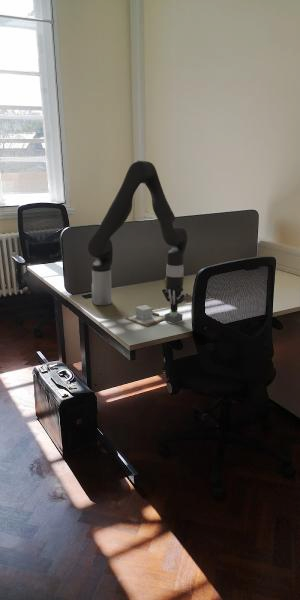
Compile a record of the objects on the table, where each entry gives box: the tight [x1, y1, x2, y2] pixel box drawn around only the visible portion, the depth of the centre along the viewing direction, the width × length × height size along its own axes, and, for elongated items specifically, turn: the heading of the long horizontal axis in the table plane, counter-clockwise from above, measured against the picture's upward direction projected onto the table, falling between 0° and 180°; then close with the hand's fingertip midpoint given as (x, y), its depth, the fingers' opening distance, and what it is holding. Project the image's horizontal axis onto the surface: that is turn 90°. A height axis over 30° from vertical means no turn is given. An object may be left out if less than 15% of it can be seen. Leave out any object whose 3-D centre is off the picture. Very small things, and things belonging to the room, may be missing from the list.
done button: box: [169, 310, 179, 317], centre depth 193 cm, size 4×4×4 cm
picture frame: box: [124, 311, 165, 328], centre depth 196 cm, size 14×13×1 cm
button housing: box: [164, 312, 183, 324], centre depth 194 cm, size 6×6×3 cm
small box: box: [135, 304, 154, 320], centre depth 195 cm, size 6×6×5 cm
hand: (174, 311), depth 193 cm, fingers closed
